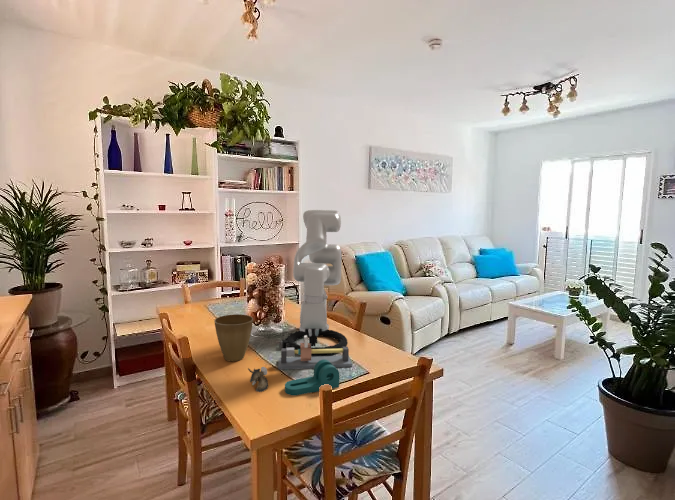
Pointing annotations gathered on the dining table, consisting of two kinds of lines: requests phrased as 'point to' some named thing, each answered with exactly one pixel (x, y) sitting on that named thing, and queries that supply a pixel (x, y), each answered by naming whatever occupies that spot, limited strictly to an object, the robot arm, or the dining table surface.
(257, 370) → the grey furry figure
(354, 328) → the dining table surface
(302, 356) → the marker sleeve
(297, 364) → the linear slide rail
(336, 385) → the bracket
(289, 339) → the cable lock
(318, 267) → the robot arm
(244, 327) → the plant pot
